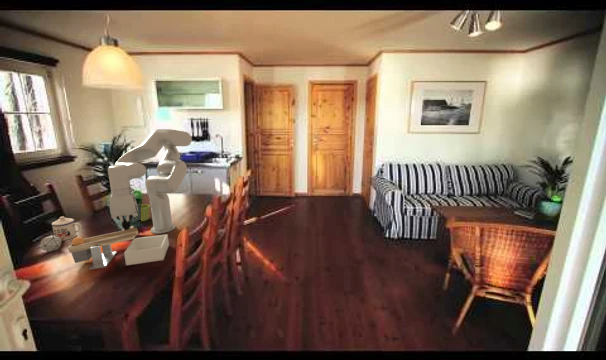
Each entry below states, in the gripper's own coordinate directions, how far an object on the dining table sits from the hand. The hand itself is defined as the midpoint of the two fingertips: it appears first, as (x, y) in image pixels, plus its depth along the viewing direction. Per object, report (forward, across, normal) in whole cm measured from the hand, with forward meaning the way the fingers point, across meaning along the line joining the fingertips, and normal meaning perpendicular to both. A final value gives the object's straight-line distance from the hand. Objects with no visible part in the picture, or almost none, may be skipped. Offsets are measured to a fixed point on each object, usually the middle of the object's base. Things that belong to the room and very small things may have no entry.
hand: (126, 228), depth 126 cm
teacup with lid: (+11, +35, -25) cm, 44 cm away
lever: (+7, +5, +5) cm, 10 cm away
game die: (+11, +35, -9) cm, 38 cm away
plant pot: (+10, +4, -41) cm, 42 cm away
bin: (+11, -10, +9) cm, 17 cm away
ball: (0, +16, +9) cm, 18 cm away
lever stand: (+11, +8, +9) cm, 16 cm away
